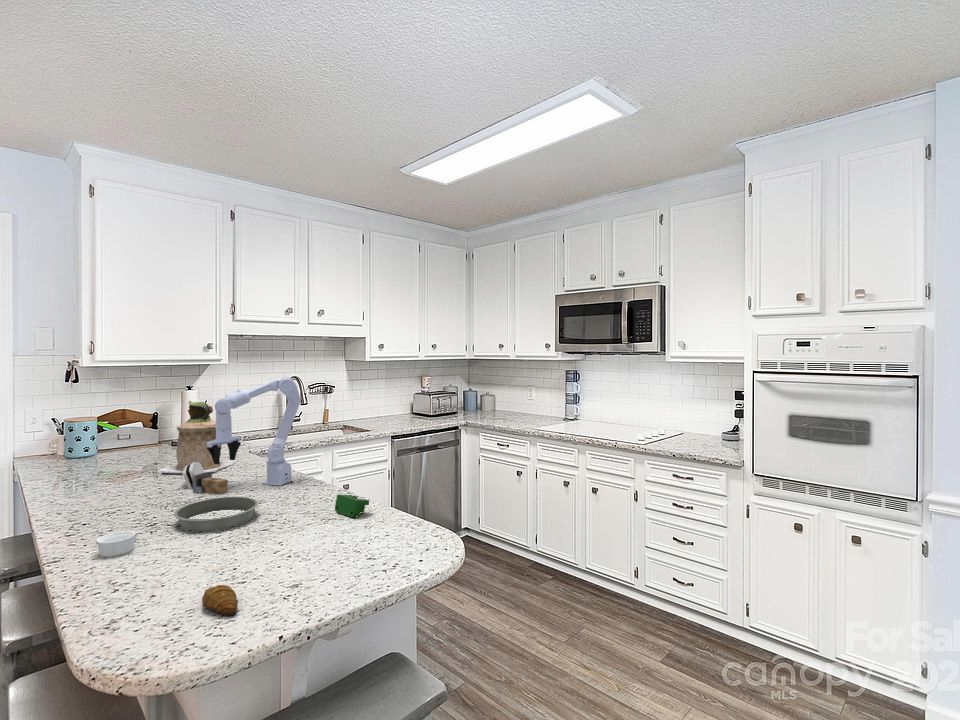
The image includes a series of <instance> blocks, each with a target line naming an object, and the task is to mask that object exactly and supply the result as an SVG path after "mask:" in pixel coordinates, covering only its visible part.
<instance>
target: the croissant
mask: <svg viewBox="0 0 960 720" xmlns="http://www.w3.org/2000/svg"><path fill="white" fill-rule="evenodd" d="M201 602H202V605H203V606H205V607H206V608H207V609H208V610H209V611H210V612H213V611H214V613H216V612H217V614H218V615H220V614H222V615H221V616H224V615H227V616H226V617H231V616H234V615H236V613H237V609H238V602H239V601H238V598H237V593H236V592H235V590H234V589H233V588H232V587H231V586H230V585H228V584H226V585H225V584H218V585H215V586H212V587H208V588H207V589H206V590H204V593H203V595H202V597H201Z"/></svg>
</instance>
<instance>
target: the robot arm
mask: <svg viewBox="0 0 960 720" xmlns="http://www.w3.org/2000/svg"><path fill="white" fill-rule="evenodd" d="M270 391H271V392H278V391H280V392H281V393H282V394H283V395H285V397H286V399H287V405H286V408H285V410H284V413H283V416H282V419H281V420H280V424H279V426H278V430H277V432H276V435H275V438H274V439H273V443H271V445H270V446H269V447H268V449H267V456H266V457H267V460H266V481H263V482H261V483H262V485H270V486H276V485H280V486H282V485H281V484H283V485H285V484H284V483H286V484H288V483H287V482H289V481H292V480H293V479H292V465H291V464H290V462H289V463H288V461H286V458H284V456H285V453H284V451H285V450H284V449H285V446H286V443H287V440H288V437H289V434H290V431H291V428H292V427H293V423H294V421H295V417H296V415H297V412H298V409H299V406H300V405H301V401H302V399H301V396H300V392H299V389H298V385H297V384H296V382H295V381H294V380H293V378H291V377H289V376H284V377H281V378H277V379H273V380H271V381H268V382H265V383H263V384H261V385H259V386H257V387H254V388H252V389H251V390H246V389H242V390H241V389H238V390H236V392H235V393H233V394H230V395H228V394H227V395H225V396H224V398H222V397H221V398H220V399H218V400H217V401H216V402H215V404H214V410H215V421H216V439H215V440H213V441H210V442H207V449H208V451H209V452H210V454H211V456H212V459H213V462H214V464H219V462H220V460H221V459H220V458H221V456H220V451H222V445H226V444H227V448H228V455H229V460H236V457H237V454H238V450H239V448H240V446H241V445H242V444H241V443H242V442H241V436H238V435H236V436H233V432H232V431H233V430H232V427H233V425H232V415H231V414H232V413H231V409H232V410H235V409H237V408H240V407H242V406H244V405H246V404H248V403H250V402H251V399H252V398H253V399H254V398H255V397H257V396H258V397H259V396H260V395H262V394H265V393H267V392H270ZM218 445H221V447H218ZM289 483H290V482H289Z"/></svg>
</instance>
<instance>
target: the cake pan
mask: <svg viewBox="0 0 960 720" xmlns="http://www.w3.org/2000/svg"><path fill="white" fill-rule="evenodd" d="M258 505H259V501H258V500H257V499H255V498H252V497H248V496H220V497H215V498H214V497H213V498H207V499H204V500H199V501H195V502H191V503H188V504H186V505H183V506H181V507H179V508H178V509H176V510H175V511H174V513H173V515H174V518H175V519H178V522H179V526H180V527H181V528H182V529H183V530H185V529H186V530H185V531H189V530H192V531H191V532H208V531H207V530H213V531H217V530H216V529H220V530H224V529H223V528H226V529H229V528H228V527H230V528H233V527H232V526H234V527H236V526H235V525H237V526H239V524H240V525H243V524H245V523H247V522H249V521H251V519H253V517H254V514H255V509H256V508H257V507H258ZM220 510H234V511H235V510H242V511H243V510H244V512H241V513H238V514H235V515H231V516H226V517H220V518H213V519H189V518H190V517H193V516H196V515H199V514H203V513H208V512H212V511H220ZM248 520H249V521H248ZM246 521H247V522H246ZM244 522H245V523H244ZM242 523H243V524H242Z"/></svg>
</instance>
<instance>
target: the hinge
mask: <svg viewBox="0 0 960 720" xmlns="http://www.w3.org/2000/svg"><path fill="white" fill-rule="evenodd" d="M201 473H205V472H204V470H203V468H202V466H201V464H200V462H193V463H192V464H189V465H187V466H186V467H185V468H184V470H183V473H182V475H183V478H184V480H185V484H186V485H187V488H188V490H193V479H192V476H194V475H197V474H201Z"/></svg>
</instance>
